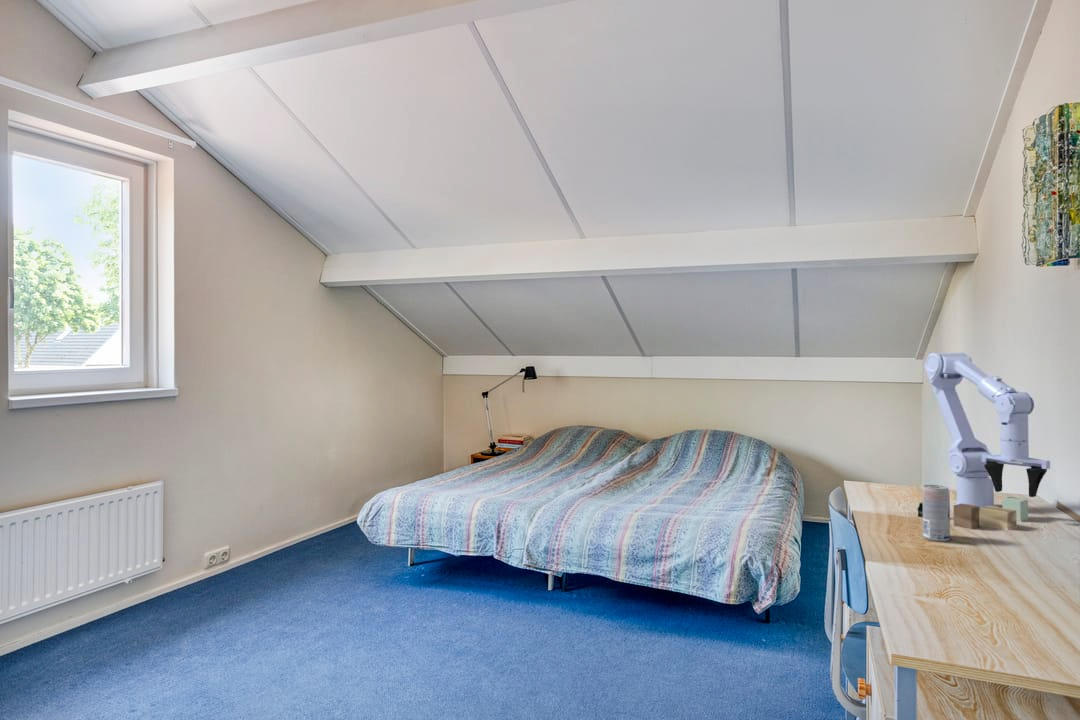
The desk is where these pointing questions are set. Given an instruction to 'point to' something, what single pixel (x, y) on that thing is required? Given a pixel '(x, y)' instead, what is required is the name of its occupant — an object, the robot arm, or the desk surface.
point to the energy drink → (936, 513)
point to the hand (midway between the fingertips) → (1015, 493)
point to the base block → (998, 517)
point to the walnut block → (966, 516)
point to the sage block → (1017, 507)
